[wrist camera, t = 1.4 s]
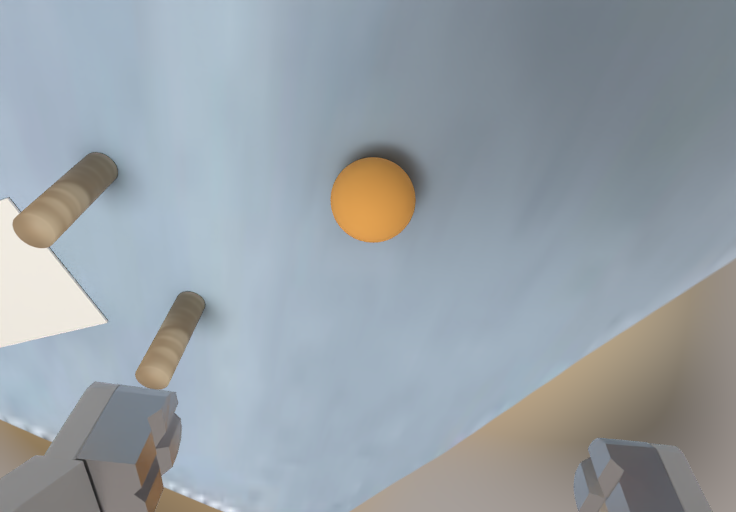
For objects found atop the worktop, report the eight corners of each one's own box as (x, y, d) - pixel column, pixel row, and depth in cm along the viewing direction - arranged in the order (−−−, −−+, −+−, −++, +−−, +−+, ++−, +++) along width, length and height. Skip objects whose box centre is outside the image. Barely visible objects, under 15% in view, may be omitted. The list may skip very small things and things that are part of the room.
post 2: (196, 289, 48) (157, 364, 40) (210, 310, 49) (175, 386, 42) (171, 294, 48) (128, 369, 41) (185, 315, 50) (147, 391, 42)
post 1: (104, 148, 40) (36, 209, 33) (124, 178, 41) (63, 243, 34) (76, 157, 41) (3, 219, 33) (96, 186, 42) (30, 252, 35)
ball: (402, 133, 38) (401, 171, 33) (424, 203, 41) (426, 248, 36) (324, 155, 39) (311, 195, 34) (351, 222, 42) (343, 267, 38)
